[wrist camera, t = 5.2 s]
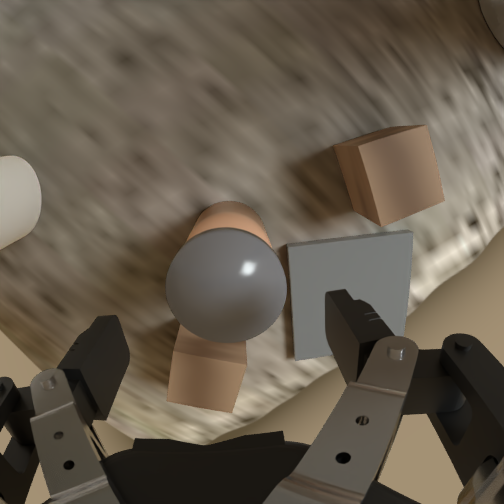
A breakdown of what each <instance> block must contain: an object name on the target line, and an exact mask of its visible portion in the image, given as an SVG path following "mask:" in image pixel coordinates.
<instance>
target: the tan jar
mask: <svg viewBox="0 0 504 504" xmlns="http://www.w3.org/2000/svg"><path fill="white" fill-rule="evenodd" d="M165 289H166V297H167V301H168V304H169V307H170V309H171V311H172V313H173V315H174V316H175V318H176V319H177V320H178V321H179V322H180V324H181V325H182V326H184V327H185V328H186V329H187V330H188V331H190V332H191V333H193V334H195V335H196V336H198V337H201V338H203V339H206V340H209V341H213V342H219V343H235V342H241V341H245V340H248V339H251V338H253V337H256V336H257V335H259V334H261V333H262V332H264V331H265V330H267V329H268V328H269V327H270V326H271V325H272V324H273V323H274V322H275V321H276V319H277V318H278V316H279V315H280V313H281V311H282V309H283V307H284V304H285V300H286V294H287V283H286V277H285V274H284V271H283V268H282V265H281V263H280V261H279V258H278V256H277V255H276V253H275V252H274V250H273V249H272V247H271V244H270V241H269V238H268V235H267V232H266V229H265V227H264V224H263V222H262V220H261V218H260V216H259V215H258V214H257V213H256V212H255V211H254V210H253V209H252V208H250V207H249V206H247V205H245V204H243V203H240V202H235V201H223V202H219V203H216V204H214V205H212V206H210V207H208V208H207V209H206V210H204V211H203V212H202V214H201V215H200V216H199V217H198V219H197V221H196V223H195V225H194V227H193V229H192V231H191V233H190V234H189V236H188V238H187V240H186V242H185V244H184V245H183V246H182V247H181V248H180V249H179V251H178V252H177V254H176V255H175V257H174V259H173V261H172V263H171V265H170V267H169V270H168V273H167V277H166V284H165Z"/></svg>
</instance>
